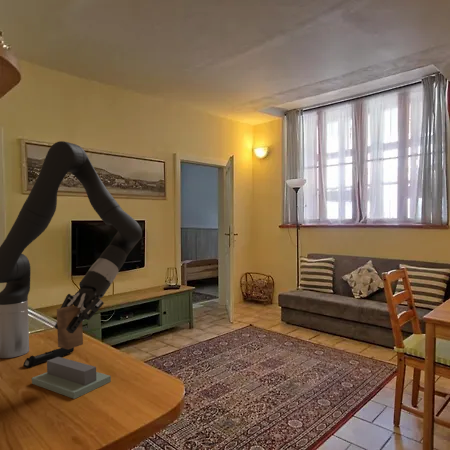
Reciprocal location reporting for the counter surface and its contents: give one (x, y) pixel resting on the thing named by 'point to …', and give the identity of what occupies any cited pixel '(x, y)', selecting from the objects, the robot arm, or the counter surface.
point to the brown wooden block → (63, 320)
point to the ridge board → (69, 385)
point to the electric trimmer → (46, 357)
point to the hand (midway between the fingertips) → (63, 330)
